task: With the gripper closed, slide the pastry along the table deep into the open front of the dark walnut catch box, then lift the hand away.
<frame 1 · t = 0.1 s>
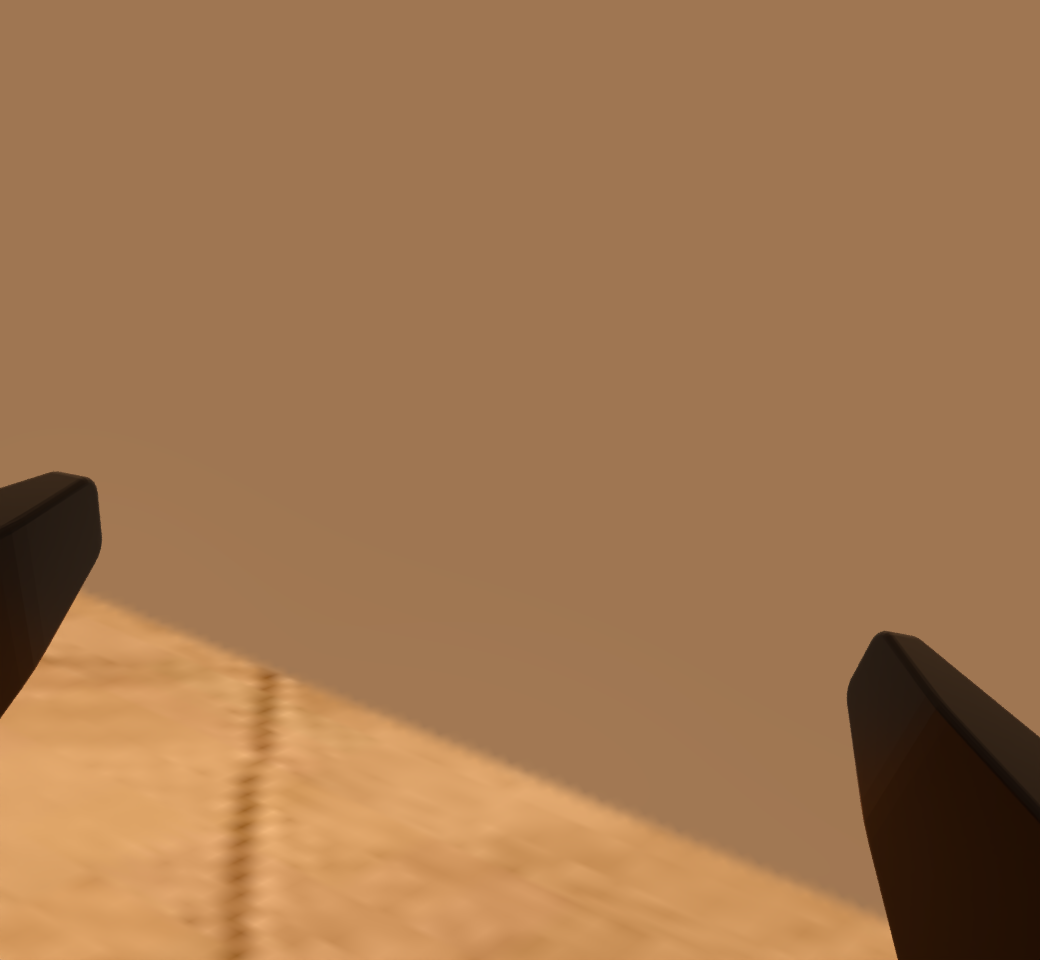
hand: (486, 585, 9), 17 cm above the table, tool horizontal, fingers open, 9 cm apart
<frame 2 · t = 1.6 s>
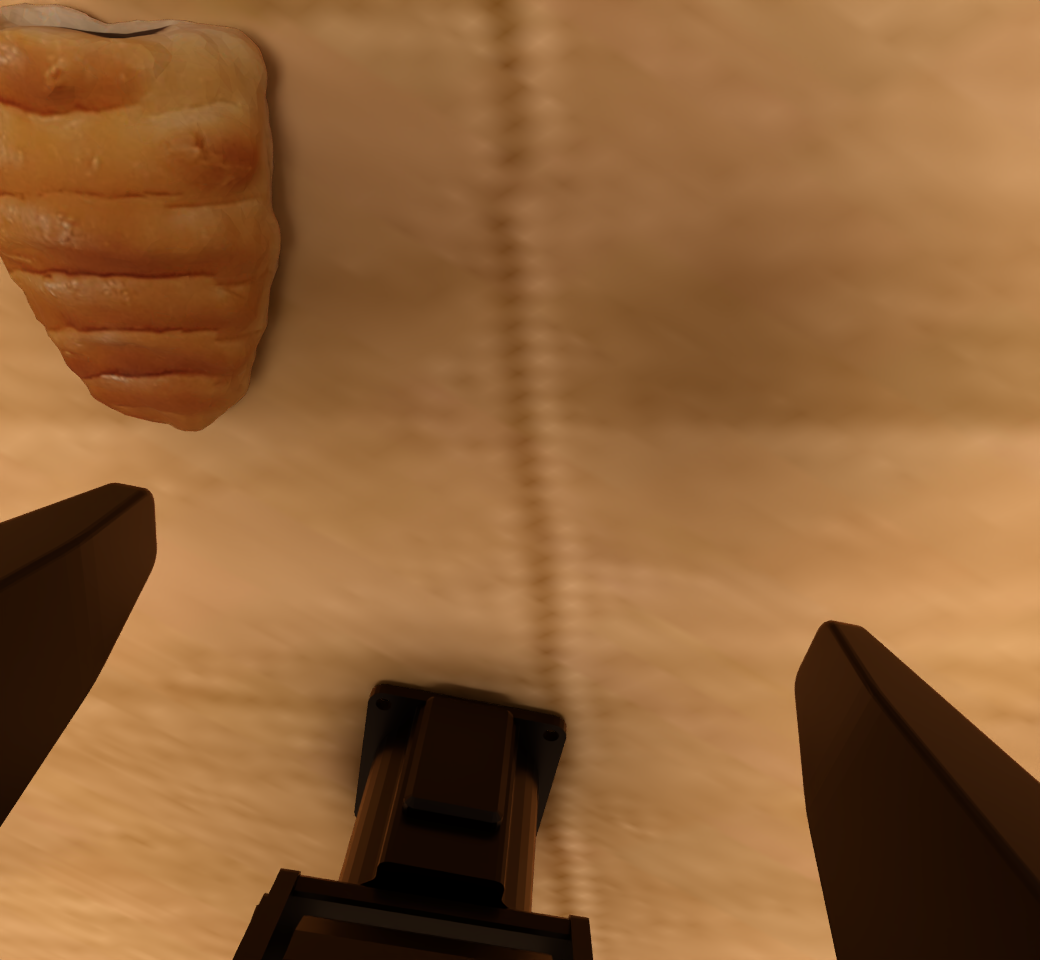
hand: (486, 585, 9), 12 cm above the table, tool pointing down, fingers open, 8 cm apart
pastry: (172, 196, 20), on the table
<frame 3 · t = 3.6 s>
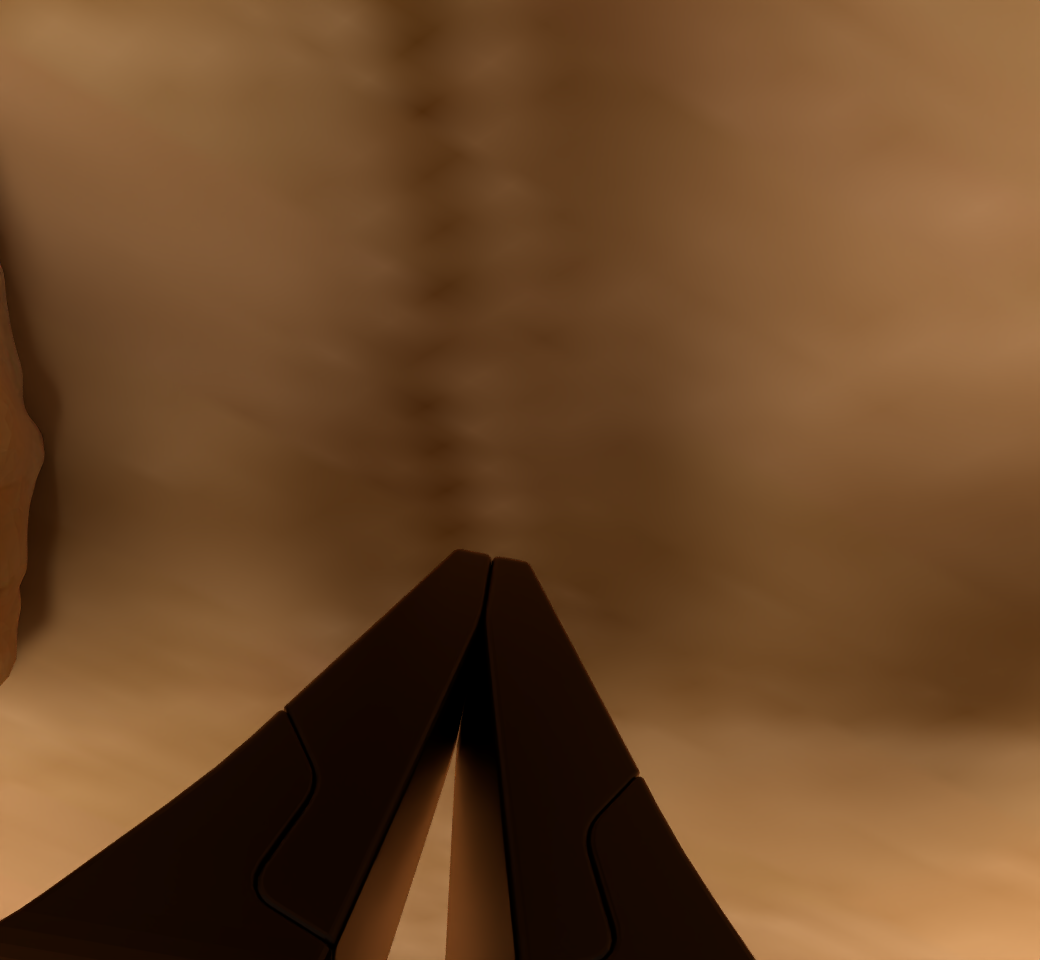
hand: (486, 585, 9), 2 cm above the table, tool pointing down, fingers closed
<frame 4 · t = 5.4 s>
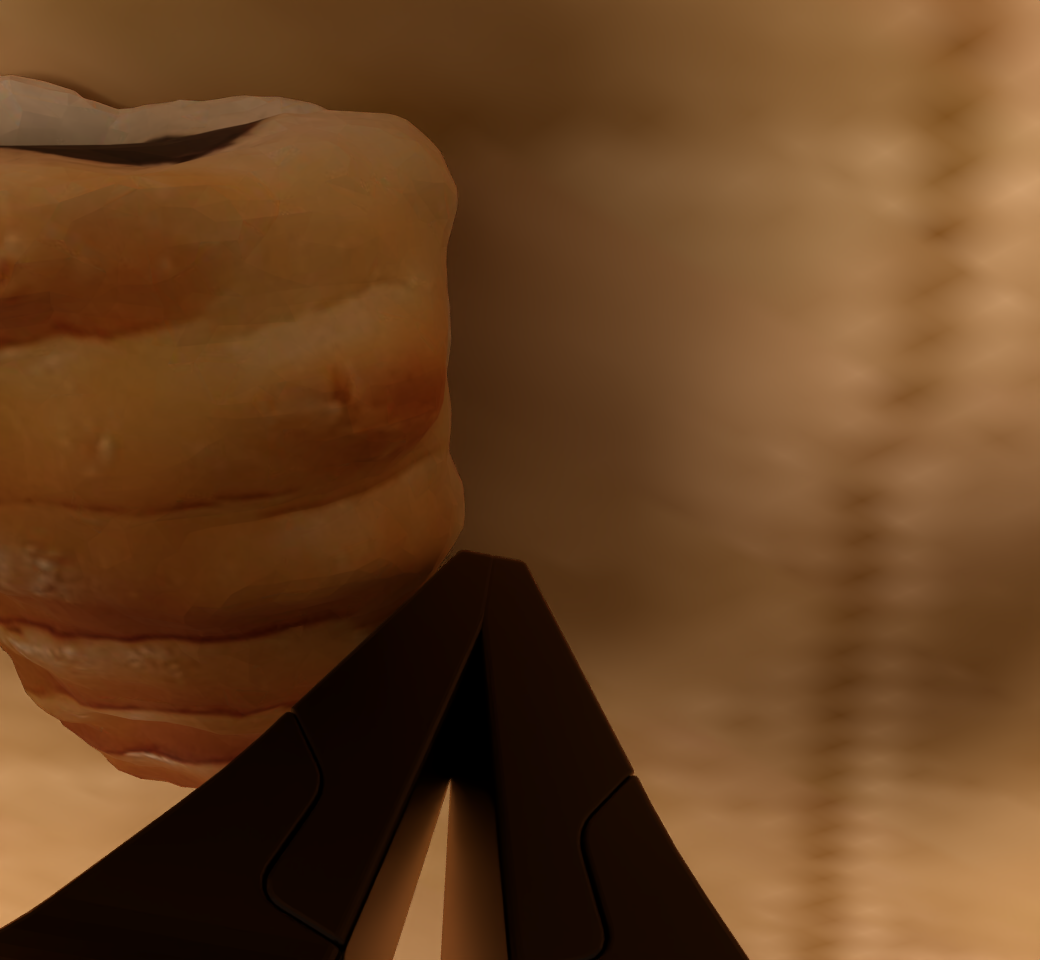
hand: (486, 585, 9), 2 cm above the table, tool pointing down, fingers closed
pastry: (243, 404, 11), on the table
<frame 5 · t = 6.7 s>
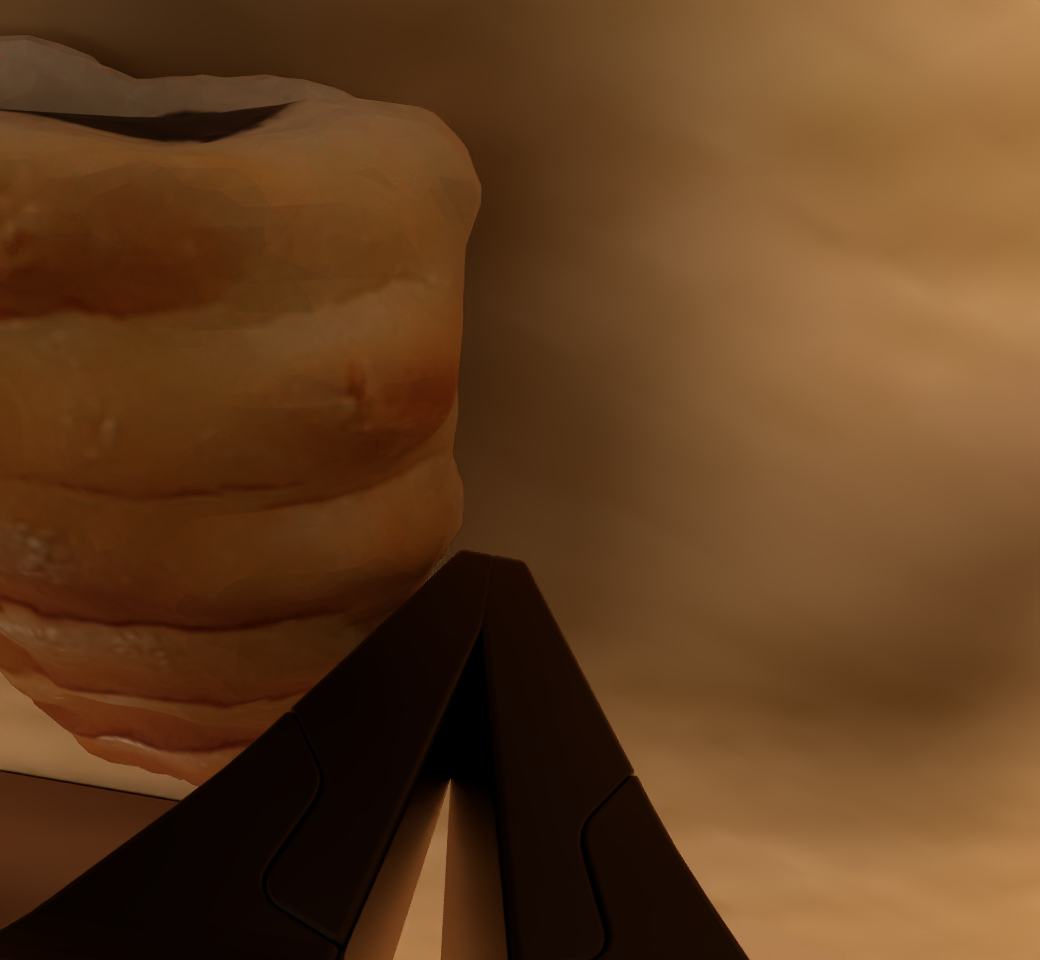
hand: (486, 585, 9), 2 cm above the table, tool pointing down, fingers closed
pastry: (241, 388, 11), on the table, touching gripper
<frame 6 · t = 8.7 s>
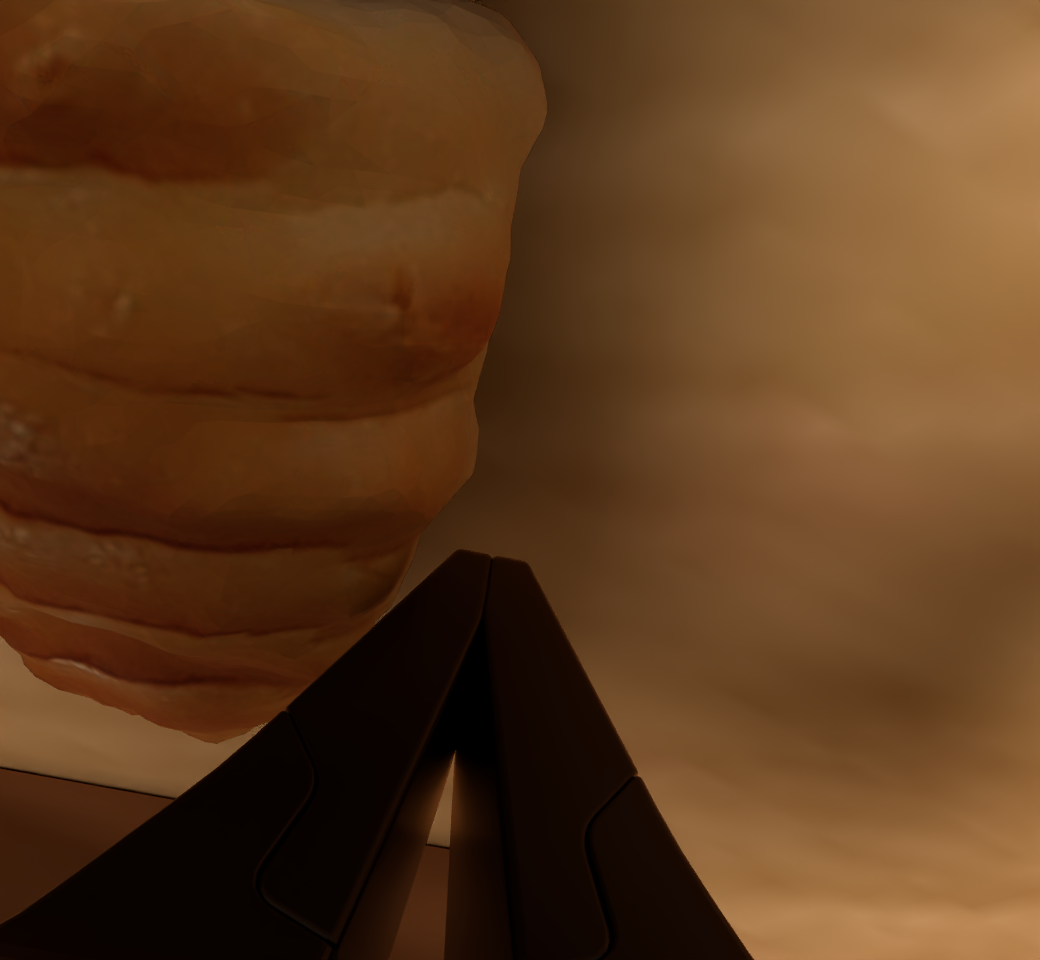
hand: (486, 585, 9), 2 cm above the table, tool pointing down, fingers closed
pastry: (245, 304, 10), on the table
catch box: (304, 476, 11), on the table
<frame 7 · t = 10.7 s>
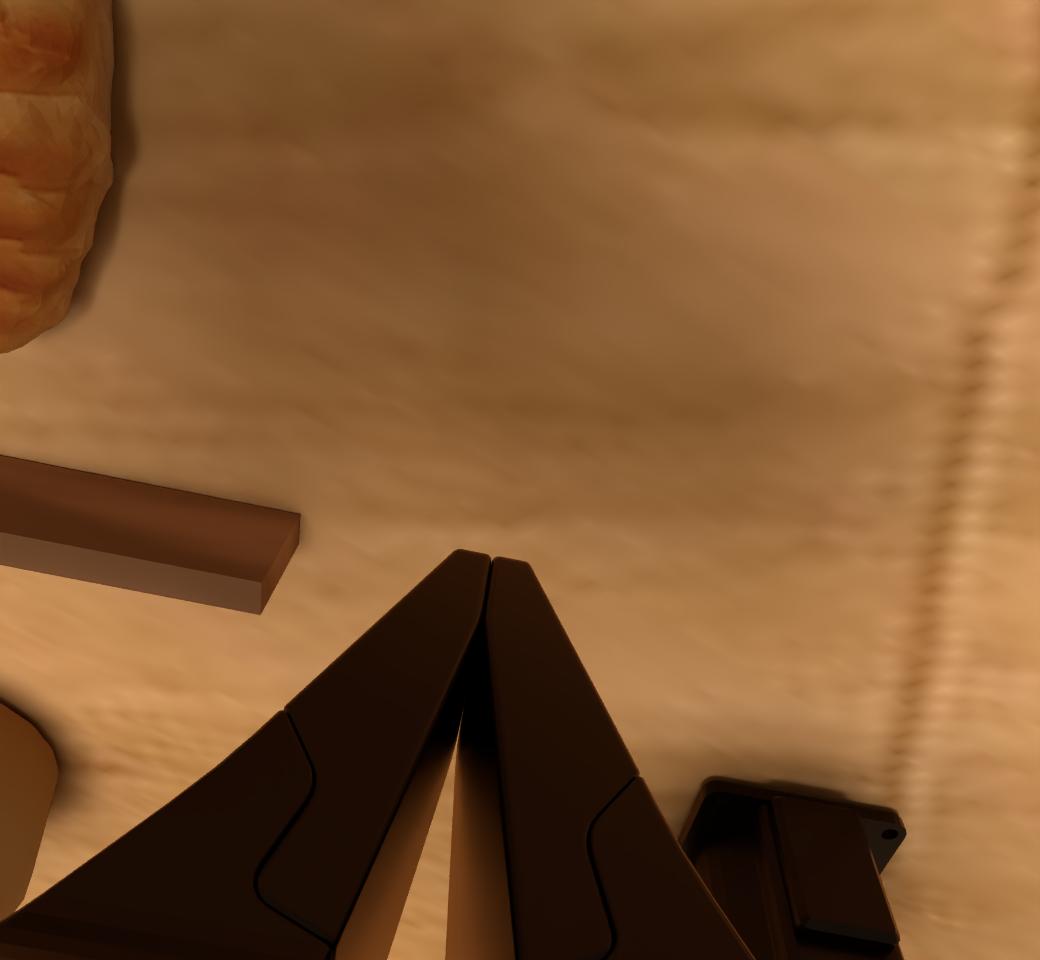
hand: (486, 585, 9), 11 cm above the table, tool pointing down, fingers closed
catch box: (26, 198, 18), on the table
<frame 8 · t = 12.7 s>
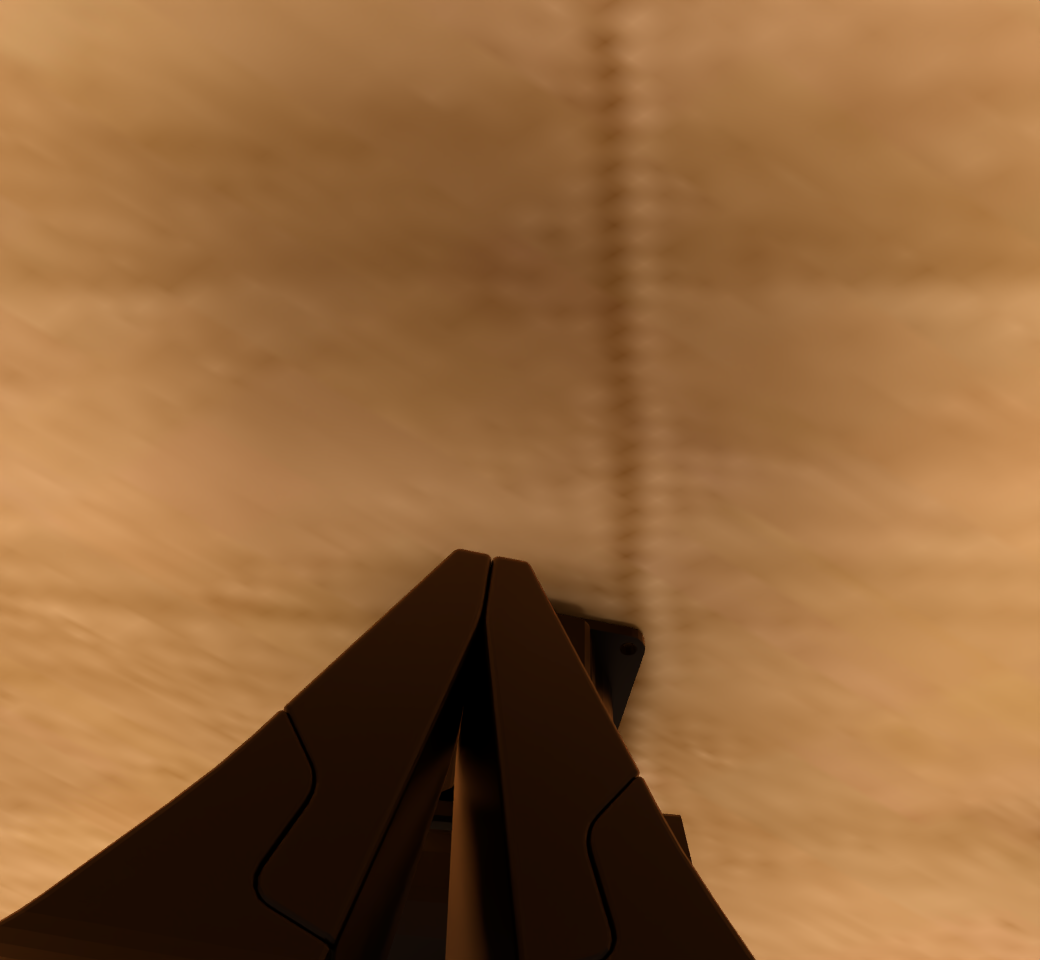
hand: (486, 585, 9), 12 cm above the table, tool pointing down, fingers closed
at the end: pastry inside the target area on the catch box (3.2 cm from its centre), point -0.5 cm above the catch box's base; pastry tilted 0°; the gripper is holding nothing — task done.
